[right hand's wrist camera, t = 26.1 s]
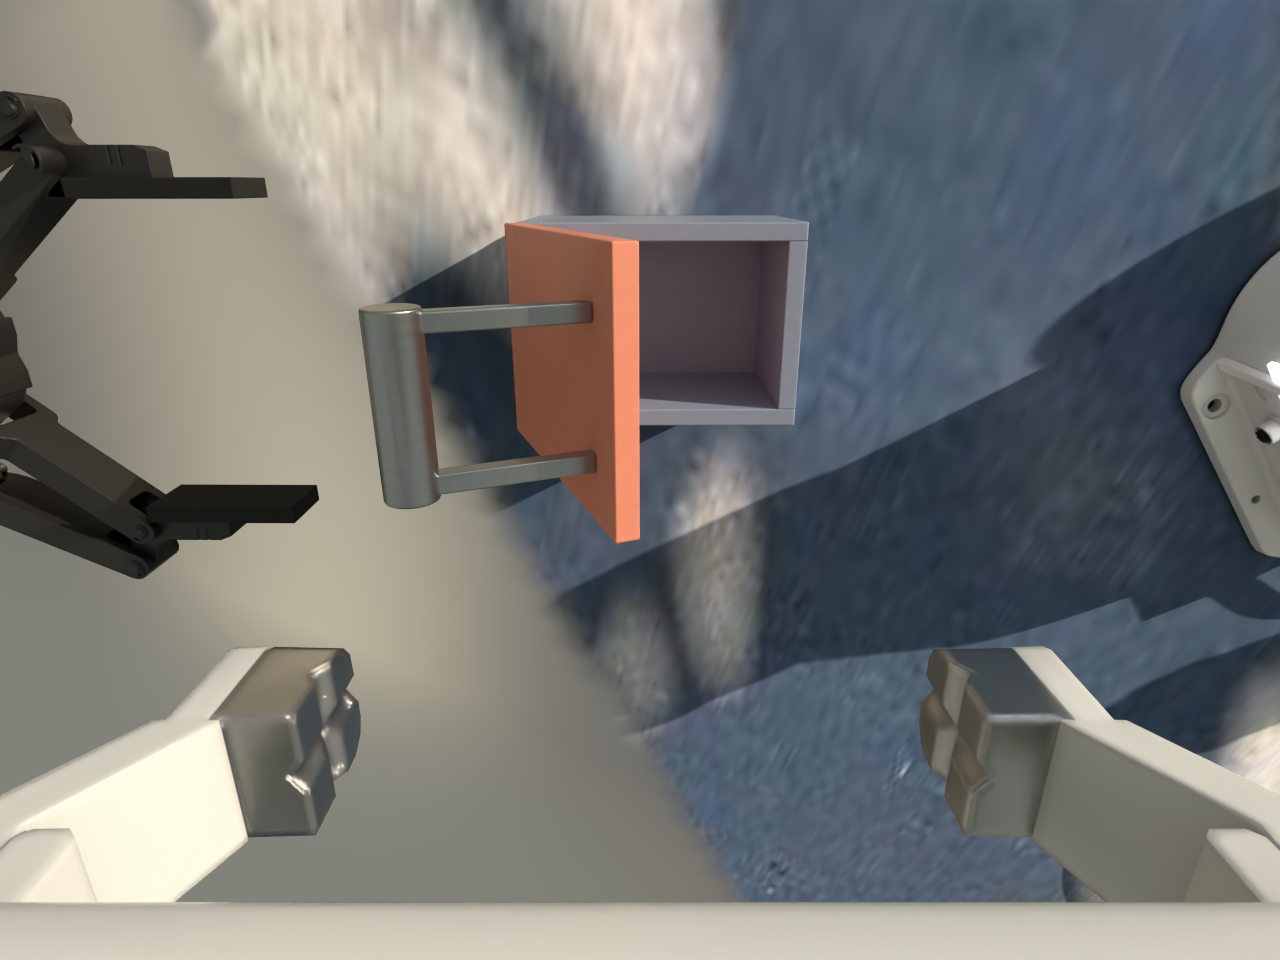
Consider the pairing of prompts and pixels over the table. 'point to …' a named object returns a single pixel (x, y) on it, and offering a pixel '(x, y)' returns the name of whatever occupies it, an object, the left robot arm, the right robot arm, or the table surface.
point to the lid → (527, 377)
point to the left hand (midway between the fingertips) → (281, 357)
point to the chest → (713, 314)
